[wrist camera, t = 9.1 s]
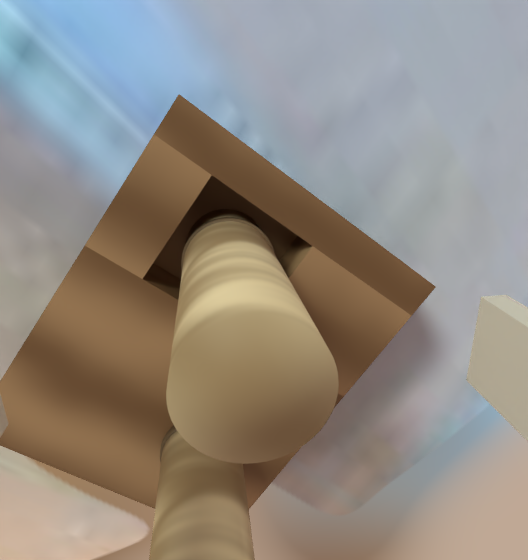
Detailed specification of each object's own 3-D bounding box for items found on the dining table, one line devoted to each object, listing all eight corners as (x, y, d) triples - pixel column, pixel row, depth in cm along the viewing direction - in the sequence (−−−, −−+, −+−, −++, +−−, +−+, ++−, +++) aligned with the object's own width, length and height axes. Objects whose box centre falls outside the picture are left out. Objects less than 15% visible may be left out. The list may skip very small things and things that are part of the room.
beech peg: (214, 189, 23) (231, 275, 10) (283, 237, 24) (377, 368, 11) (167, 259, 24) (125, 420, 11) (235, 301, 25) (272, 490, 12)
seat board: (184, 101, 24) (150, 55, 8) (390, 255, 29) (620, 414, 13) (15, 370, 28) (-229, 691, 12) (221, 467, 33) (239, 787, 17)
